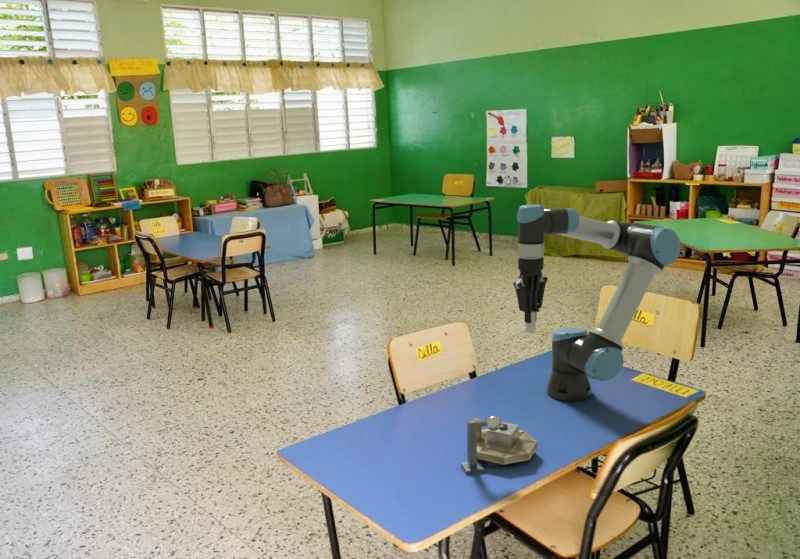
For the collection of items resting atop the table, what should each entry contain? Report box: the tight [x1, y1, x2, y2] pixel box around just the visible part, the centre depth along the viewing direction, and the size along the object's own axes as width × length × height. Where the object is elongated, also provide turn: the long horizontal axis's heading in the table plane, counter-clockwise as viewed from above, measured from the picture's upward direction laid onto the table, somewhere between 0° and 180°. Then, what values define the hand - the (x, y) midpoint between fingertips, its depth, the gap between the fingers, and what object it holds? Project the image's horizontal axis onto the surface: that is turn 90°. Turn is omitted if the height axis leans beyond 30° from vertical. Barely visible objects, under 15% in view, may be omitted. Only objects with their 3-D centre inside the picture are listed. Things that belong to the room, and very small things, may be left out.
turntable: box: [471, 417, 538, 465], centre depth 190 cm, size 18×18×7 cm
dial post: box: [460, 415, 503, 475], centre depth 182 cm, size 10×5×15 cm, turn 102°
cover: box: [487, 421, 520, 448], centre depth 190 cm, size 7×7×5 cm
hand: (530, 332), depth 205 cm, fingers closed
